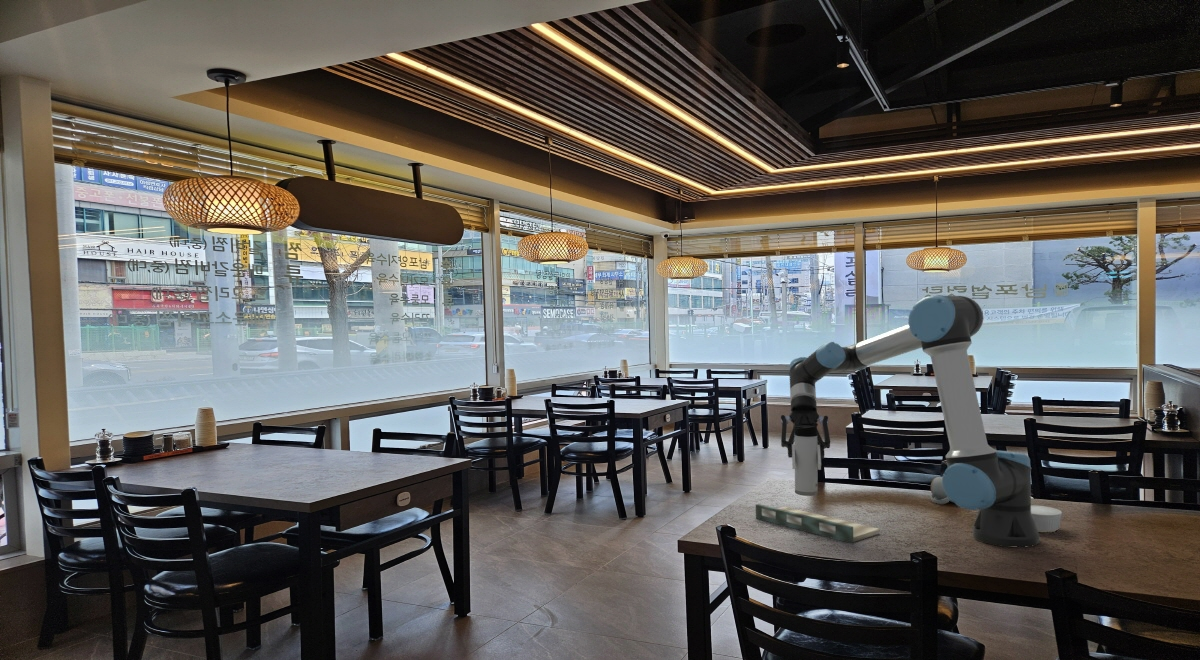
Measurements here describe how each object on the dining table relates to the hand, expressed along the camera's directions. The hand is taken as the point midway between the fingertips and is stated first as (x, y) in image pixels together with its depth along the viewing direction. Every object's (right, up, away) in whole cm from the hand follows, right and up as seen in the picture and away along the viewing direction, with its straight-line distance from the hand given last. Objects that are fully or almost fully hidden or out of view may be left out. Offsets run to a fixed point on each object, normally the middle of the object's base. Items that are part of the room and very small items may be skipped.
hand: (806, 466), depth 206 cm
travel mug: (+1, -9, +4) cm, 9 cm away
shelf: (+3, -17, +2) cm, 17 cm away
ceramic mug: (+52, -16, +26) cm, 60 cm away
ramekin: (+62, -16, -5) cm, 64 cm away
